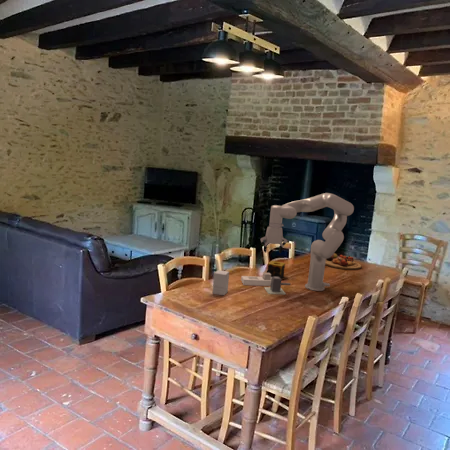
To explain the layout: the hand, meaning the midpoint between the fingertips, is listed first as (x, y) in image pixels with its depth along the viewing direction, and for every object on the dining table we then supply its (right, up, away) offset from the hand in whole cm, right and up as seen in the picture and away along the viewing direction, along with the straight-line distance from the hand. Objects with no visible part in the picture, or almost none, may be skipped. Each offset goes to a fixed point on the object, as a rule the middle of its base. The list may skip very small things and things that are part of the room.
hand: (272, 252), depth 261 cm
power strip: (-3, -21, +11) cm, 24 cm away
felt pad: (+1, -24, -2) cm, 24 cm away
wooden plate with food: (+64, -16, +79) cm, 103 cm away
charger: (+1, -23, -3) cm, 23 cm away
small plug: (-3, -19, +10) cm, 22 cm away
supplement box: (-33, -23, -14) cm, 42 cm away
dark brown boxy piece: (+5, -19, +28) cm, 34 cm away
